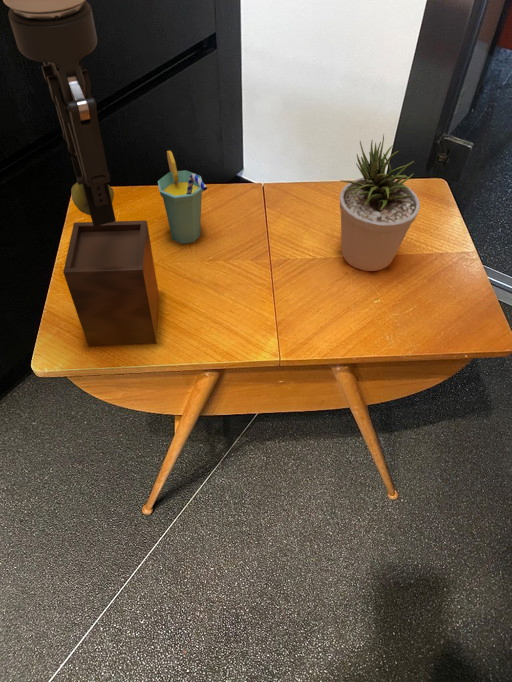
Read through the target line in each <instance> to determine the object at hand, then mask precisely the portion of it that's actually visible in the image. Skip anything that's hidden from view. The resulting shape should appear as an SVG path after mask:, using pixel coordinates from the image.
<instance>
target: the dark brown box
mask: <svg viewBox="0 0 512 682" xmlns="http://www.w3.org/2000/svg"><path fill="white" fill-rule="evenodd" d="M70 234H71V235H70V239H69V244H68V248H67V253H66V258H65V262H64V266H63V277H64V279H65V282H66V284H67V288H68V291H69V294H70V297H71V300H72V303H73V305H74V309H75V312H76V314H77V317H78V320H79V324H80V326H81V330H82V332H83V335H84V338H85V341H86V344H87V346H88V348H89V347H111V346H112V347H115V346H137V345H156V344H157V340H158V323H159V306H160V305H159V304H160V303H159V302H160V293H159V287H158V281H157V280H158V279H157V276H156V268H155V263H154V255H153V250H152V244H151V238H150V231H149V226H148V220H116V221H114V222H110V223H107V224H103V225H99V226H95V227H94V225H93V223H92V221H83V222H82V221H81V222H80V221H79V222H78V221H77V222H76V221H75V222H73V224H72V230H71V233H70Z"/></svg>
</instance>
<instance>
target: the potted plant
mask: <svg viewBox="0 0 512 682" xmlns="http://www.w3.org/2000/svg"><path fill="white" fill-rule="evenodd" d="M384 141H385V134H384V133H383V134H382V141H380V142H379V144H378V147H377V142H375V144H374V148H373V139H371V141H370V150H369V152H368V154H369V160H368V158H367V156H366V154H365V152H364V148H363V145H362V142H361V140H359V146H360V150H361V154H362V156H360V157H359V155H358V153H356V159H357V162H356V163H355V164H356V166H357V168H358V171H359V172H360V174H361V176H362V177H360V178H357V179H354V180H344V179H343V180H341V179H340V182H342V183H347V184H346V185H344V186H343V187H342V189H341V191H340V193H339V209H340V246H341V254H342V255H341V256H342V258H343V259H344V260H345V262H346V263H347V264H349V265H350V266H352V267H354V268H355V269H358V270H360V271H366V272H376V271H380V270H383V269H385V268H387V267H388V266H390V264H391V263H392V262H393V260H394V258H395V257H396V255H397V252H398V251H399V249H400V247H401V246H402V245H401V244H402V243H403V241H404V239H405V237H406V235H407V233H408V232H409V229H410V227H411V225H412V224H413V223H414V222H415V220H416V219H417V216H418V215H419V212H420V209H421V203H420V199H419V198H418V196H417V194H416V193H415V191H413V190H412V189H411V188H410V187H409V186H408V185H405V182H407V181H408V180H409V179H410V178H411V177H413V175H415V174H414V173H412V174H410V175H409V176H407V174H402V173H403V172H404V171H405V170H406V169H407V168H408V167H409V166H410V165H411V164H413V163H414V162H415V160H413V161H411V162H409V163H407V164H405V165H402V166H398V167H397V168H394V169H392V167H391V164H390V161H391V160H392V158H393V156H395V155H396V154H398V153H399V152H400V150H397V151H395V152H393V153H392V154H391V155H390V156H388V155H389V152H390V151H391V149H393V146H394V144H392V145H391V146H390V147H389V148H388V149H387V150H386V152H385V153H384V152H383V149H384V143H385V142H384ZM387 156H388V158H387ZM386 168H388V172H387V173H386ZM398 170H399V171H398ZM397 171H398V172H397ZM395 172H397V173H396V174H395V175H394V173H395ZM392 174H393V175H392ZM401 174H402V175H401Z"/></svg>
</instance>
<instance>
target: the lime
mask: <svg viewBox="0 0 512 682" xmlns="http://www.w3.org/2000/svg"><path fill="white" fill-rule="evenodd" d="M108 187H109V192H110V196H111V201H112V202H113V201H114V198H115V191H114V188H113V187H111V185H109V184H108ZM70 193H71V195H70V196H71V199H72V203H73V204H74V206H75V207H76V208H77V209H78V211H79V212H81V213H82V214H84V215H87V216H91V215H90V211H89V207H88V203H87V200H86V196H85V192H84V188H83V184H80V185H78V182H77V181H76V182H75V183H74V184H73V185H72V187H71V191H70Z"/></svg>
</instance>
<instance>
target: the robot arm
mask: <svg viewBox="0 0 512 682" xmlns="http://www.w3.org/2000/svg"><path fill="white" fill-rule="evenodd" d="M2 1H3V3H4V5H6V6H7V7H8V8H9V10H8V12H7V15H8V16H7V17H8V19H9V23H10V26H11V30H12V33H13V36H14V39H15V43H16V46H17V49H18V51H19V52H20V53H21V55H23V56H24V57H25V58H26V59H29V60H31V61H35V62H39V63H43V65H41V71H42V75H43V78H44V80H45V82H46V84H47V85H48V89H49V92H50V96H51V99H52V101H53V103H54V105H55V109H56V112H57V116H58V120H59V123H60V127H61V131H62V134H61V135H62V138H63V140H65V142H67V150H68V152H69V153H70V154H71V156H70V158H71V162H72V166H73V170H74V172H75V173H74V174H75V180H76V183H77V182H78V185H80V184H83V188H84V192H85V196H86V200H87V203H88V207H89V211H90V215H89V216H90V218H91V222H92V223H93V225H94V227H95V226H99V225H103V224H107V223H110V222H114V221H117V220H116V215H115V210H114V206H113V201H111V196H110V192H109V187H108V185H109V183H110V182H111V174H110V173H109V168H108V163H107V158H106V153H105V148H104V144H103V138H102V134H101V129H100V124H99V117H98V109H97V107H98V104H97V101H96V100H95V98H94V96H93V97H92V92H91V89H92V82H91V79H90V75H89V72H88V69H84V66H83V62H82V58H84V57H85V56H88V55H90V54H91V53H92V52H93V51H94V50H95V49H96V48H97V44H98V35H97V31H96V26H95V19H94V14H93V10H92V6H91V4H90V3H89V2H88V1H87V0H2ZM73 154H74V155H73Z"/></svg>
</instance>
